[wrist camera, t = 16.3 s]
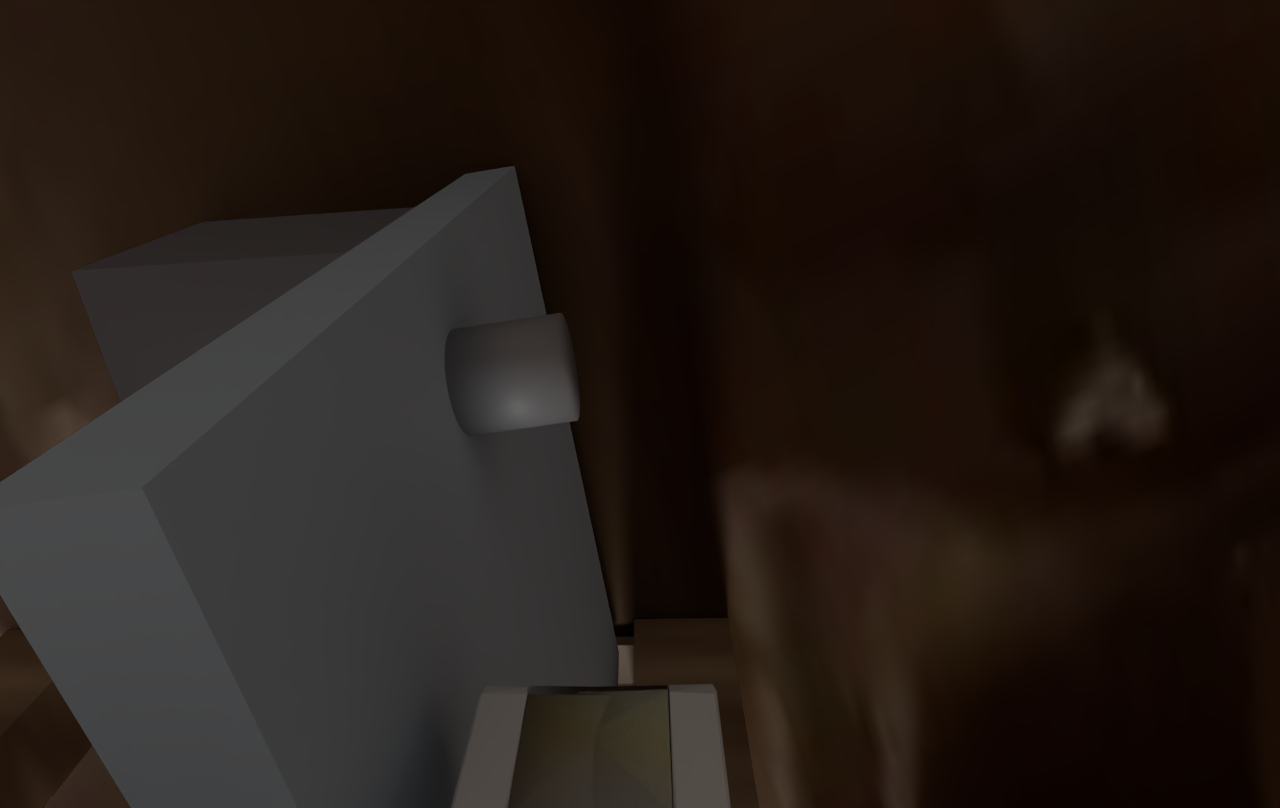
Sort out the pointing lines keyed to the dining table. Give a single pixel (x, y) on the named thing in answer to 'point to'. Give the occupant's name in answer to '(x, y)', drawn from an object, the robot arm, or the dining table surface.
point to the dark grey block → (206, 284)
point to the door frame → (657, 655)
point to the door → (325, 531)
